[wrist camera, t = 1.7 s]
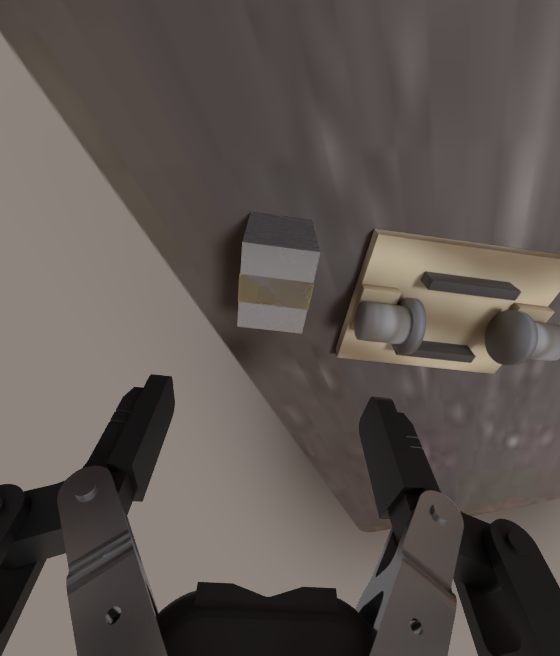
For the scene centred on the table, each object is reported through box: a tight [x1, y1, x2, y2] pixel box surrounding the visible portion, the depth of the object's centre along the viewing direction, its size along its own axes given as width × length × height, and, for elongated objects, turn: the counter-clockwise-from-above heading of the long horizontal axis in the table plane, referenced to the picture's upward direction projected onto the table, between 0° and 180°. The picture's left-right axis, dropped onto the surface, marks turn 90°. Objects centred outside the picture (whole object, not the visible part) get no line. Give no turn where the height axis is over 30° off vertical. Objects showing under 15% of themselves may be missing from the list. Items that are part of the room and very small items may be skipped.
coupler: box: [237, 211, 320, 333], centre depth 21 cm, size 6×5×6 cm
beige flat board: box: [335, 229, 560, 374], centre depth 24 cm, size 12×16×6 cm
